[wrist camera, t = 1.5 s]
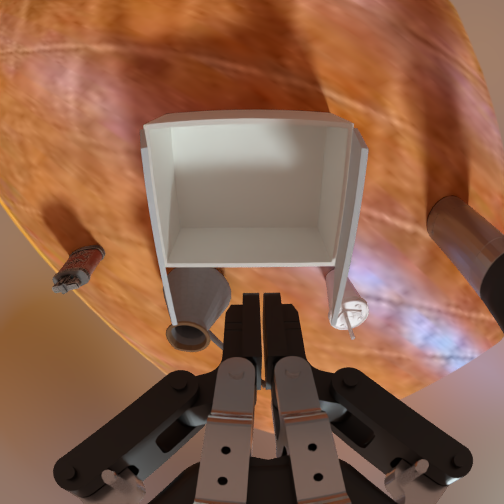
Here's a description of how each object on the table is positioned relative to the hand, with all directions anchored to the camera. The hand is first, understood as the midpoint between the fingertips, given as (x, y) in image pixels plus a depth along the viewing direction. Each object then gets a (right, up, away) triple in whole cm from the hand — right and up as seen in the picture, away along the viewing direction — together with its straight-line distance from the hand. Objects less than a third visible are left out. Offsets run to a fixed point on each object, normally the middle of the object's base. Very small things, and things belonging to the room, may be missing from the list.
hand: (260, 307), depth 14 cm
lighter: (-30, +2, +35) cm, 46 cm away
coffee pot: (-6, -5, +40) cm, 41 cm away
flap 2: (+9, +5, +15) cm, 18 cm away
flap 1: (-10, +5, +15) cm, 18 cm away
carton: (-1, +14, +28) cm, 31 cm away
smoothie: (+14, -2, +38) cm, 41 cm away
